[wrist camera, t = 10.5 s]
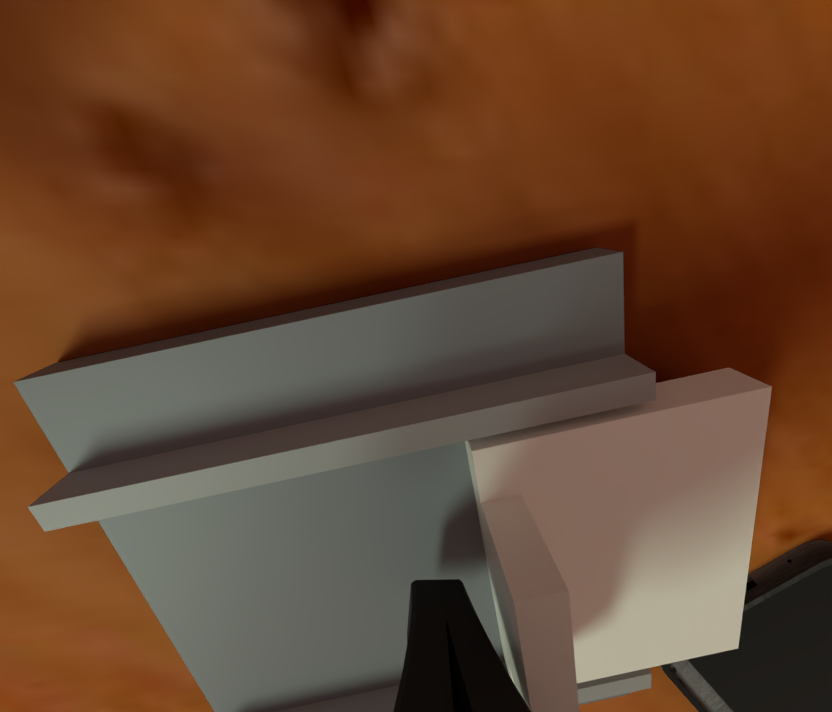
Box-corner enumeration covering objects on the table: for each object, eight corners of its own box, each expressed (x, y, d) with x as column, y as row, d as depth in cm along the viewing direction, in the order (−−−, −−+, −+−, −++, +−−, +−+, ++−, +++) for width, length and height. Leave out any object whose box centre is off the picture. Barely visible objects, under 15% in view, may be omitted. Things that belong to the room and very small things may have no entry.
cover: (461, 424, 10) (504, 539, 7) (729, 367, 10) (915, 450, 7) (503, 656, 13) (547, 818, 10) (708, 611, 13) (827, 757, 10)
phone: (784, 809, 19) (651, 658, 15) (763, 778, 20) (633, 628, 16) (944, 734, 18) (855, 544, 13) (913, 705, 19) (820, 520, 14)
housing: (54, 363, 10) (-41, 406, 8) (596, 247, 10) (657, 257, 8) (263, 735, 16) (242, 823, 13) (611, 659, 16) (650, 734, 13)
